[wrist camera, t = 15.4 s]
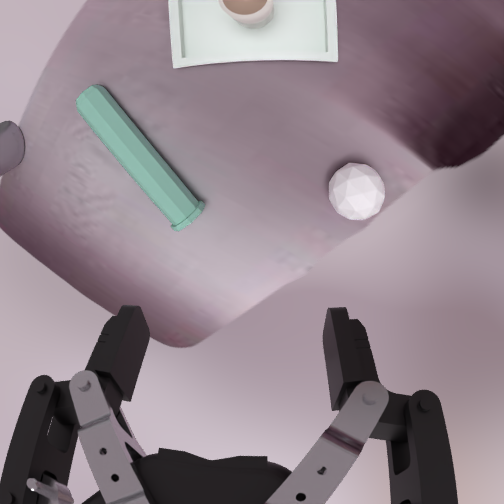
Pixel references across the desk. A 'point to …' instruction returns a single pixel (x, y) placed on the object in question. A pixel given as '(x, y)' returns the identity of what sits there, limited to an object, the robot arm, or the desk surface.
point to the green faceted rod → (138, 157)
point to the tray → (252, 33)
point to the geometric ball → (356, 191)
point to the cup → (249, 11)
